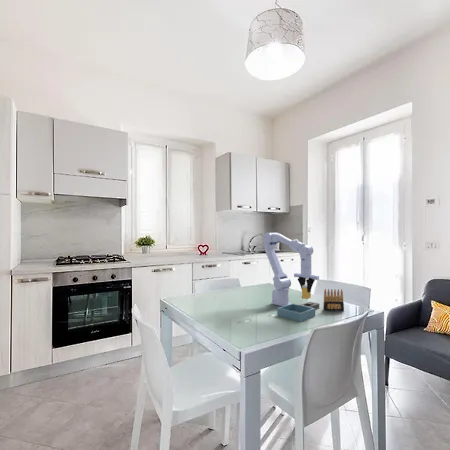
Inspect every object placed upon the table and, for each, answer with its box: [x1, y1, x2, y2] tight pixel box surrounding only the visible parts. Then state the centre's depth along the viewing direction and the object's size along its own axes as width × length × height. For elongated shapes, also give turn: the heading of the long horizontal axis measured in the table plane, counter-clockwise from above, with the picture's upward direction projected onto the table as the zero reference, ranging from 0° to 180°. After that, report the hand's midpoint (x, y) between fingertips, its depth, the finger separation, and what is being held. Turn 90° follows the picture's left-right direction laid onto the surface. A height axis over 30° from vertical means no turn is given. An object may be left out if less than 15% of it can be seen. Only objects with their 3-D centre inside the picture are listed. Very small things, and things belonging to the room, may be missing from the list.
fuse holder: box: [300, 301, 320, 310], centre depth 162 cm, size 6×14×3 cm, turn 133°
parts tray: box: [276, 303, 316, 323], centre depth 151 cm, size 14×14×4 cm
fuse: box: [301, 284, 312, 300], centre depth 161 cm, size 3×4×7 cm
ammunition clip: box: [323, 288, 345, 312], centre depth 160 cm, size 11×2×12 cm, turn 85°
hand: (306, 291), depth 161 cm, fingers closed on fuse, 3 cm apart
